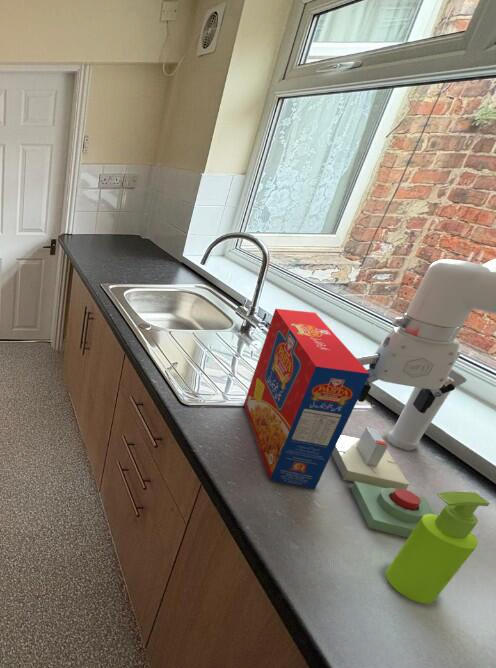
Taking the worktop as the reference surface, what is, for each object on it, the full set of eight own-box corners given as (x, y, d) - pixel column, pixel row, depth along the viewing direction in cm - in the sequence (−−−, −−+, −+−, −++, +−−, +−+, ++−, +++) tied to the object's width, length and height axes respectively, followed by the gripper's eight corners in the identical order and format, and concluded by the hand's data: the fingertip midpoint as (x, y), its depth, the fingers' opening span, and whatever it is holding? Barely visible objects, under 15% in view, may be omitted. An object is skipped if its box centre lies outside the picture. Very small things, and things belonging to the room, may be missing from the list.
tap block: (324, 440, 98) (328, 431, 97) (378, 451, 94) (383, 442, 93) (342, 479, 87) (347, 470, 86) (404, 493, 84) (410, 484, 82)
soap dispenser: (369, 567, 70) (425, 480, 61) (411, 568, 70) (473, 481, 61) (399, 603, 65) (465, 513, 56) (445, 604, 64) (518, 514, 55)
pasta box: (243, 404, 111) (275, 308, 98) (278, 410, 108) (315, 312, 96) (269, 479, 87) (315, 366, 75) (314, 489, 85) (370, 373, 72)
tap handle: (356, 446, 92) (366, 426, 90) (366, 448, 92) (376, 428, 89) (366, 464, 88) (377, 443, 85) (376, 466, 87) (388, 445, 84)
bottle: (419, 445, 96) (475, 350, 85) (412, 454, 94) (469, 358, 82) (390, 433, 100) (440, 341, 89) (383, 441, 97) (434, 348, 86)
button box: (419, 505, 81) (429, 490, 79) (446, 548, 73) (458, 532, 71) (350, 488, 85) (358, 474, 83) (368, 527, 77) (377, 512, 75)
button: (411, 498, 78) (415, 491, 77) (420, 513, 75) (424, 506, 74) (387, 492, 79) (391, 486, 79) (395, 507, 76) (399, 500, 76)
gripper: (377, 328, 76) (341, 404, 84) (505, 345, 70) (453, 425, 78) (363, 313, 82) (330, 385, 90) (478, 327, 76) (433, 403, 84)
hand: (387, 403), depth 84 cm, fingers open, 9 cm apart
